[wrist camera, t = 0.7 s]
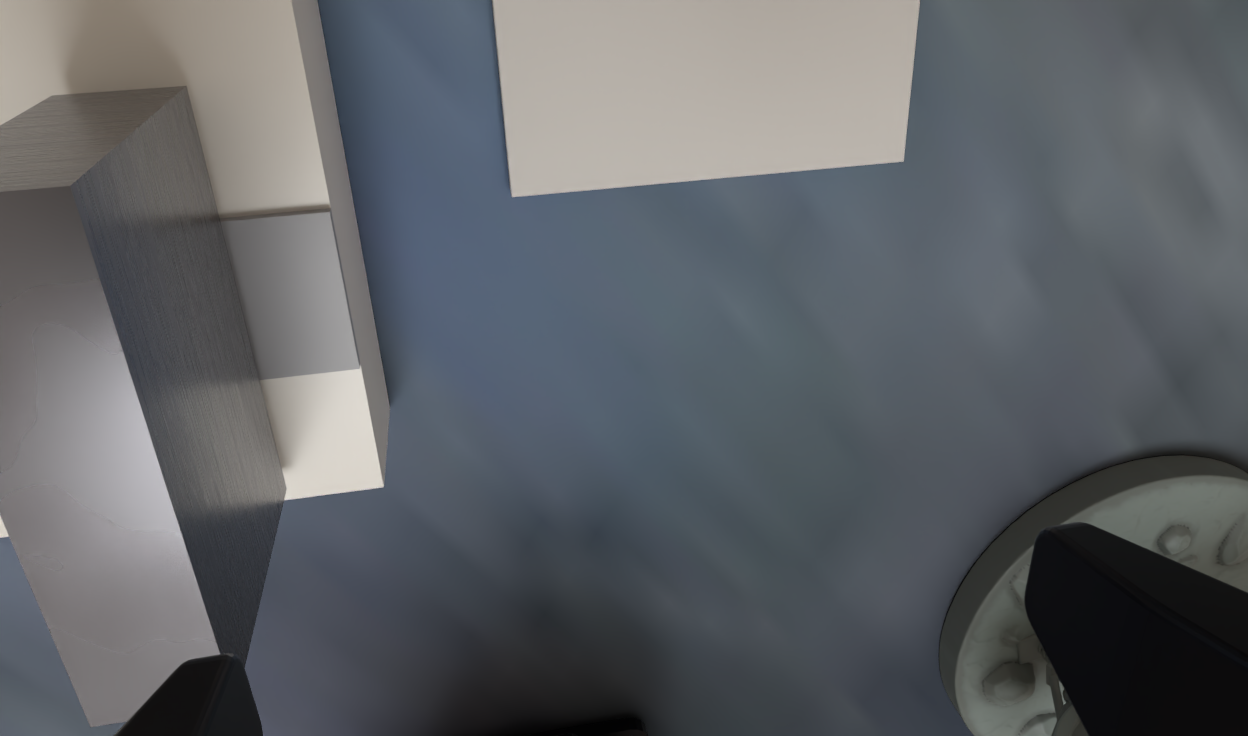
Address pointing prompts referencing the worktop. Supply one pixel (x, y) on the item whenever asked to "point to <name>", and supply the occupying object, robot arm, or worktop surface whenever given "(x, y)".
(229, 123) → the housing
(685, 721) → the worktop surface
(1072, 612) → the robot arm
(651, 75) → the pad
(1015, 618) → the figurine
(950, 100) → the worktop surface
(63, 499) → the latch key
